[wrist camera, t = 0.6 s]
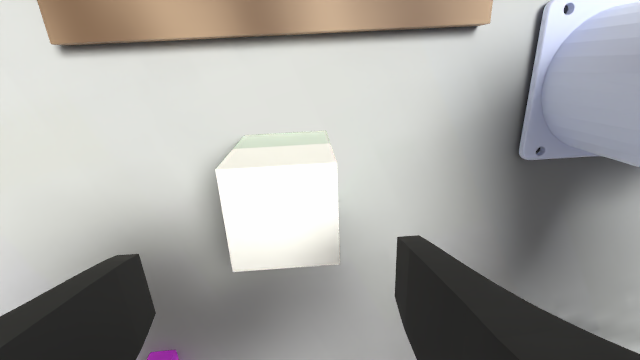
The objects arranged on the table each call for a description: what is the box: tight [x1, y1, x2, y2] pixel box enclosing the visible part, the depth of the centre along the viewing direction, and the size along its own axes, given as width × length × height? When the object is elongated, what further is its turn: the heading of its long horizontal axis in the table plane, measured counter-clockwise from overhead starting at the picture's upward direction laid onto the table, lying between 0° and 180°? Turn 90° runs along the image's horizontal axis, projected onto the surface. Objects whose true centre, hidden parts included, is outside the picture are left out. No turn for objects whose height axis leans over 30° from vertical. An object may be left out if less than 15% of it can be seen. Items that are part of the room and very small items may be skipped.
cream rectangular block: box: [215, 131, 340, 272], centre depth 15 cm, size 4×4×6 cm
